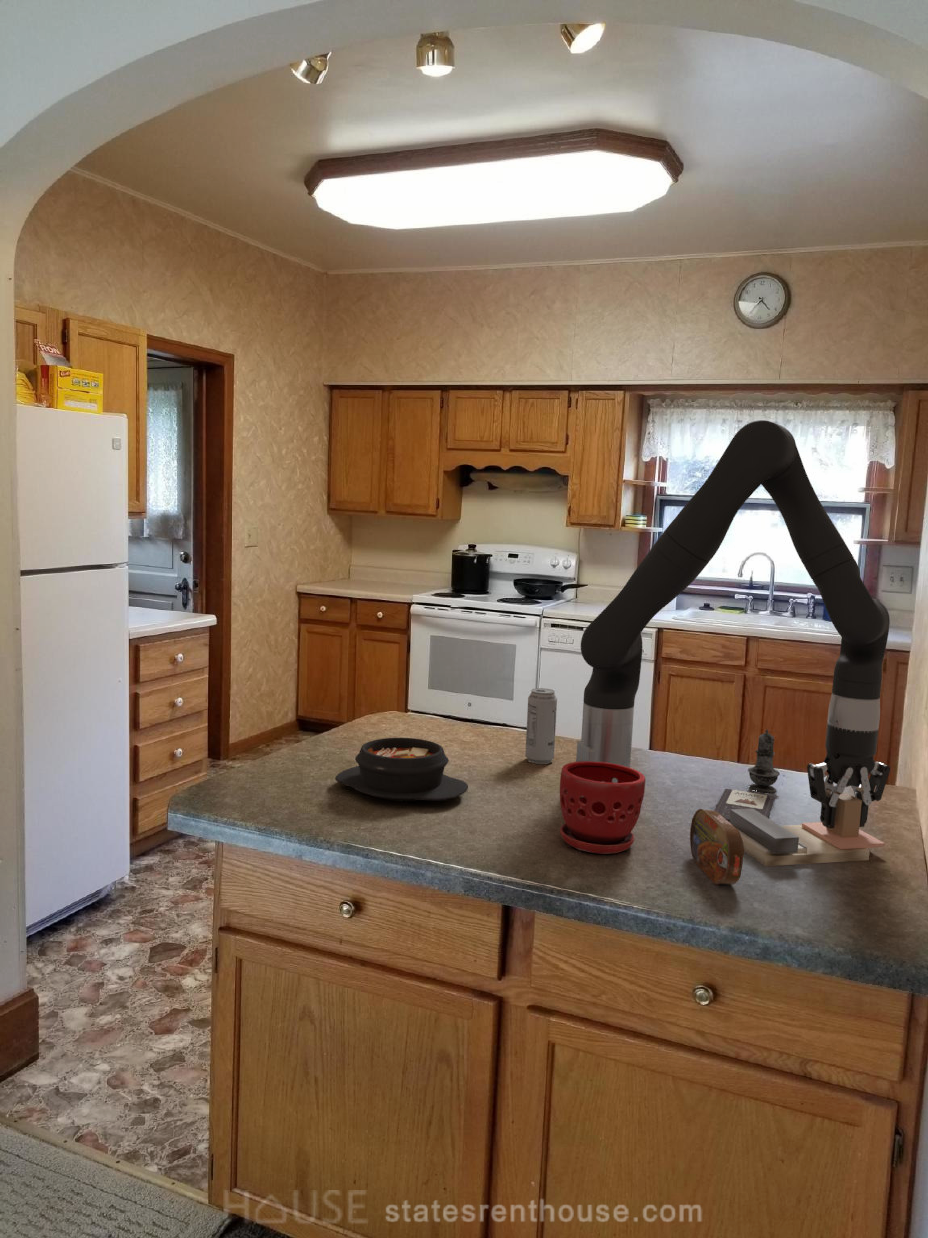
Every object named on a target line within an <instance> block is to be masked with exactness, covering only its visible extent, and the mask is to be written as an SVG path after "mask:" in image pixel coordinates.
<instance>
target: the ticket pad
mask: <svg viewBox="0 0 928 1238" xmlns="http://www.w3.org/2000/svg"><path fill="white" fill-rule="evenodd" d="M730 823H731V824H732V825H733V826H734V827H735V828H737V830H738V831H739V833H740V835H741V837H742V840H743V845H744V853H746V854H747V855H749V857H751V858H752V859H754V860H755V861H757V862H758V863H760V865H763V866H764V867H776V866H792V865H809V864H811V865H812V864H826V863H844V862H845V863H846V862H863V861H869V859H870V850H869V849H867V848H854V849H838V848H837V847H835V846H833V845H832V844H830V843H828V842H827V841H825V840H823V839H822V838H820V837H818V836H817V835H815V834H813V833H812V832H810V831H808V830H807V829H805V828H803V827H802V824H792V825H791V824H790V825H780V824H778V823H776V822H775V821H773V820H772V819H770V818H767V817H765V816H764V815H762V814H760V813H759V812H757V811H756V810H754V809H731V811H730Z"/></svg>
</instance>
